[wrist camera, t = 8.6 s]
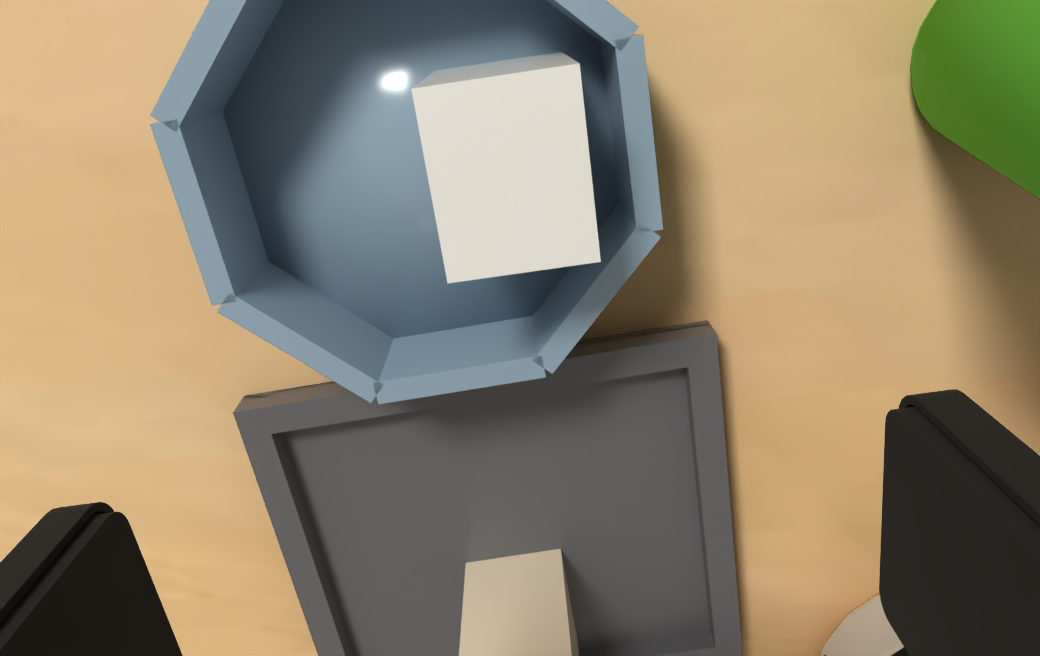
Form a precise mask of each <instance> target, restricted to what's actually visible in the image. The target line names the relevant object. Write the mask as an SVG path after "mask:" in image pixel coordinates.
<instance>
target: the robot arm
mask: <svg viewBox="0 0 1040 656" xmlns="http://www.w3.org/2000/svg"><path fill="white" fill-rule="evenodd" d="M879 591H880V599H881V604H882V607H883V610H884V613H885V616H886V618H887V620H888V622H889V624H890V625H891V627H892V628H893V630H894V632H895V633H896V635H897V636H898V638H899V639H900V641H901V643H902V644H903V646H904V647H905V649H906V651H907V652H908V654H909V655H910V656H1040V456H1039V455H1038V454H1037V453H1035V452H1034V451H1033V450H1032V449H1031V448H1029V447H1028V446H1027V445H1026V444H1025V443H1023V442H1022V441H1021V440H1020V439H1019V438H1017V437H1016V436H1015V435H1014V434H1012V433H1011V432H1010V431H1009V430H1008V429H1006V428H1005V427H1004V426H1003V425H1002V424H1000V423H999V422H998V421H997V420H996V419H994V418H993V417H992V416H991V415H989V414H988V413H987V412H986V411H985V410H983V409H982V408H981V407H980V406H979V405H977V404H976V403H975V402H974V401H973V400H971V399H970V398H969V397H968V396H966V395H965V394H964V393H962V392H961V391H959V390H945V391H938V392H930V393H922V394H915V395H907V396H905V397H904V398H903V399H902V400H901V403H900V405H899V409H894V410H890V411H889V412H888V414H887V416H886V422H885V447H884V474H883V501H882V529H881V556H880V583H879ZM0 656H182V653H181V651H180V648H179V646H178V643H177V641H176V638H175V636H174V633H173V631H172V628H171V626H170V623H169V621H168V618H167V616H166V613H165V611H164V608H163V606H162V603H161V601H160V598H159V596H158V594H157V591H156V589H155V586H154V584H153V581H152V579H151V576H150V574H149V571H148V569H147V566H146V564H145V561H144V559H143V556H142V554H141V551H140V549H139V546H138V544H137V541H136V539H135V536H134V534H133V531H132V529H131V526H130V524H129V522H128V520H127V518H126V517H125V516H124V515H123V514H122V513H120V512H114V510H113V509H112V508H111V507H110V506H109V505H108V504H106V503H102V502H98V503H90V504H83V505H75V506H67V507H60V508H55V509H52V510H51V511H49V512H48V513H47V514H46V515H45V516H44V517H43V518H42V519H41V520H40V521H39V522H38V523H37V524H36V525H35V526H34V527H33V528H32V529H31V531H30V532H29V533H28V534H27V535H26V536H25V537H24V538H23V539H22V540H21V541H20V542H19V543H18V544H17V545H16V547H15V548H14V549H13V550H12V551H11V552H10V553H9V554H8V555H7V556H6V557H5V558H4V559H3V560H2V561H1V562H0Z"/></svg>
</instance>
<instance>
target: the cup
mask: <svg viewBox="0 0 1040 656" xmlns="http://www.w3.org/2000/svg"><path fill="white" fill-rule="evenodd" d="M910 72H911V81H912V89H913V94H914V97H915V100H916V102H917V105H918V107H919V110H920V112H921V114H922V115H923V116H924V118H925V119H926V120H927V121H928V123H929V124H930V125H931V127H932V128H933V129H935V130H936V131H937V132H939V133H940V134H942V135H943V136H945V137H946V138H947V139H949V140H950V141H952V142H953V143H955V144H956V145H958V146H959V147H961V148H963V149H964V150H966V151H967V152H969V153H970V154H972V155H973V156H975V157H976V158H978V159H979V160H981V161H982V162H984V163H985V164H987V165H988V166H990V167H991V168H993V169H994V170H996V171H997V172H999V173H1000V174H1002V175H1004V176H1005V177H1007V178H1008V179H1010V180H1011V181H1013V182H1014V183H1016V184H1017V185H1019V186H1020V187H1022V188H1023V189H1025V190H1026V191H1028V192H1029V193H1031V194H1032V195H1034V196H1035V197H1037V198H1038V199H1040V0H937V2H936V3H935V4H934V6H933V7H932V8H931V10H930V12H929V13H928V15H927V17H926V19H925V20H924V22H923V24H922V25H921V27H920V29H919V32H918V35H917V38H916V41H915V44H914V46H913V51H912V59H911V67H910Z"/></svg>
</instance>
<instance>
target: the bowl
mask: <svg viewBox="0 0 1040 656" xmlns="http://www.w3.org/2000/svg"><path fill="white" fill-rule="evenodd" d="M638 27H639V26H638V25H636V24H635V23H634V22H633V21H631V20H630V19H629V18H628V17H626V16H625V15H624V14H622V13H621V12H620V11H619V10H617V9H616V8H615V7H614V6H612V5H611V4H610V3H609V2H607V1H606V0H210V1H209V3H208V5H207V7H206V9H205V11H204V12H203V14H202V16H201V18H200V20H199V22H198V24H197V26H196V28H195V30H194V32H193V34H192V36H191V38H190V40H189V41H188V43H187V45H186V47H185V49H184V51H183V53H182V55H181V57H180V59H179V61H178V63H177V65H176V67H175V69H174V70H173V72H172V74H171V76H170V78H169V80H168V82H167V84H166V86H165V88H164V90H163V92H162V94H161V96H160V98H159V99H158V101H157V103H156V105H155V107H154V109H153V111H152V113H151V115H150V116H152V117H153V118H155V119H156V120H158V121H159V122H156V123H153V124H150V126H151V129H152V132H153V135H154V138H155V141H156V144H157V146H158V149H159V152H160V155H161V158H162V161H163V164H164V167H165V170H166V173H167V176H168V179H169V182H170V184H171V187H172V190H173V193H174V196H175V199H176V202H177V205H178V208H179V211H180V214H181V217H182V219H183V222H184V225H185V228H186V231H187V234H188V237H189V240H190V243H191V246H192V249H193V252H194V255H195V257H196V260H197V263H198V266H199V269H200V272H201V275H202V278H203V281H204V284H205V287H206V290H207V292H208V295H209V298H210V301H211V304H212V306H213V305H219V304H222V305H221V307H220V308H219V310H218V313H220V314H221V315H223V316H225V317H226V318H228V319H230V320H231V321H233V322H235V323H236V324H238V325H240V326H241V327H243V328H245V329H247V330H248V331H250V332H252V333H253V334H255V335H257V336H258V337H260V338H262V339H263V340H265V341H267V342H268V343H270V344H272V345H274V346H275V347H277V348H279V349H280V350H282V351H284V352H285V353H287V354H289V355H290V356H292V357H294V358H296V359H297V360H299V361H301V362H302V363H304V364H306V365H307V366H309V367H311V368H312V369H314V370H316V371H317V372H319V373H321V374H323V375H324V376H326V377H328V378H329V379H331V380H333V381H334V382H336V383H338V384H339V385H341V386H343V387H345V388H346V389H348V390H350V391H351V392H353V393H355V394H356V395H358V396H360V397H361V398H363V399H365V400H366V401H368V402H370V403H371V402H372V401H373V399H374V398H375V397H377V401H378V404H384V403H390V402H397V401H403V400H409V399H415V398H421V397H428V396H434V395H440V394H446V393H453V392H459V391H465V390H471V389H477V388H484V387H490V386H496V385H502V384H508V383H515V382H521V381H527V380H533V379H540V378H546V375H545V369H546V370H547V371H549V372H550V373H552V374H553V373H554V371H555V370H556V369H557V368H558V366H559V365H560V364H561V362H562V361H563V360H564V359H565V357H566V356H567V355H568V354H569V352H570V351H571V350H572V349H573V347H574V346H575V345H576V344H577V342H578V341H579V340H580V339H581V337H582V336H583V335H584V334H585V332H586V331H587V330H588V329H589V327H590V326H591V325H592V324H593V322H594V321H595V320H596V318H597V317H598V316H599V315H600V313H601V312H602V311H603V310H604V308H605V307H606V306H607V305H608V303H609V302H610V301H611V300H612V298H613V297H614V296H615V295H616V293H617V292H618V291H619V290H620V288H621V287H622V286H623V285H624V283H625V282H626V281H627V280H628V278H629V277H630V276H631V274H632V273H633V272H634V271H635V269H636V268H637V267H638V266H639V264H640V263H641V262H642V261H643V259H644V258H645V257H646V256H647V254H648V253H649V252H650V251H651V249H652V248H653V247H654V246H655V244H656V243H657V242H658V241H659V239H660V238H661V237H660V235H659V234H658V232H657V230H663V223H662V213H661V203H660V193H659V184H658V174H657V164H656V155H655V145H654V135H653V126H652V116H651V106H650V96H649V87H648V77H647V67H646V58H645V48H644V38H643V35H640V34H634V33H635V31H636V30H637V29H638ZM555 52H562V53H564V54H566V55H567V56H569V57H570V58H572V59H573V60H575V61H577V62H578V63H580V71H581V81H582V90H583V100H584V109H585V118H586V128H587V137H588V146H589V156H590V165H591V174H592V184H593V193H594V202H595V212H596V221H597V230H598V240H599V249H600V258H601V262H596V263H589V264H582V265H575V266H568V267H561V268H554V269H547V270H540V271H532V272H525V273H518V274H511V275H504V276H497V277H490V278H483V279H476V280H468V281H461V282H454V283H447V277H446V272H445V267H444V261H443V256H442V251H441V245H440V240H439V235H438V229H437V224H436V219H435V213H434V208H433V203H432V197H431V192H430V187H429V181H428V176H427V171H426V165H425V160H424V155H423V149H422V144H421V139H420V133H419V128H418V123H417V117H416V112H415V106H414V101H413V96H412V90H411V88H413V87H414V86H415V85H417V84H418V83H419V82H421V81H422V80H423V79H425V78H426V77H427V76H429V75H430V74H431V73H433V72H434V71H436V70H443V69H449V68H456V67H462V66H469V65H476V64H482V63H489V62H496V61H502V60H509V59H515V58H522V57H529V56H535V55H542V54H548V53H555Z"/></svg>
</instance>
